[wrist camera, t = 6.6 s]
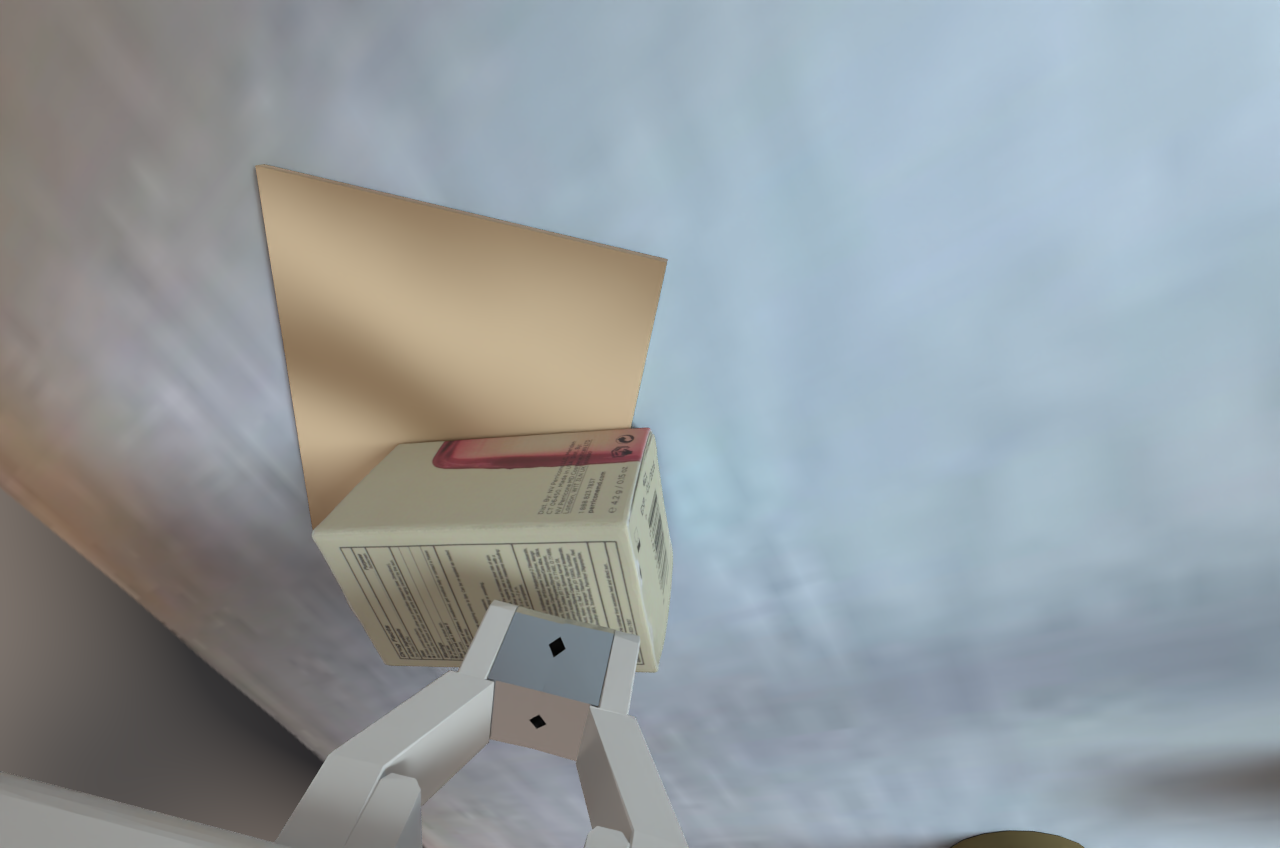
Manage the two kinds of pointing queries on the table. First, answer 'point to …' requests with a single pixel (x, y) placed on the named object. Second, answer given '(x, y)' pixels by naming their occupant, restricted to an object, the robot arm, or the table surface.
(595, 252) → the cork mat
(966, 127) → the table surface
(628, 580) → the small box
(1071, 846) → the cork
